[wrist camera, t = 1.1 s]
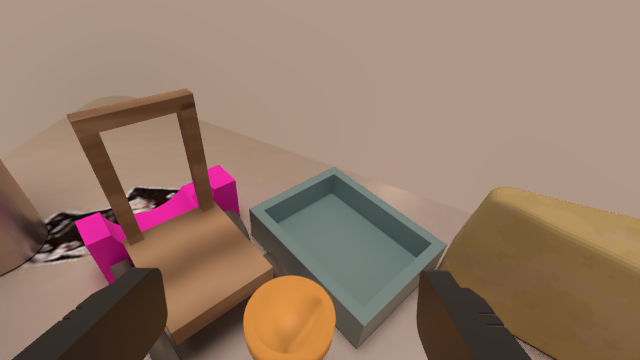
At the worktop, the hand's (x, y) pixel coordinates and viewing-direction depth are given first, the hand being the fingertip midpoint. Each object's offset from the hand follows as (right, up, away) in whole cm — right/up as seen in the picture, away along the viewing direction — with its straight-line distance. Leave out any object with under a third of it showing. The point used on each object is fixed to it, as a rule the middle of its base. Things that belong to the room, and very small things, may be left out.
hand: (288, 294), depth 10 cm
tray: (+4, -5, +28) cm, 29 cm away
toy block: (-17, -4, +28) cm, 33 cm away
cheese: (+24, -12, +23) cm, 35 cm away
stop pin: (-2, -15, +15) cm, 21 cm away
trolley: (-11, -9, +23) cm, 27 cm away
